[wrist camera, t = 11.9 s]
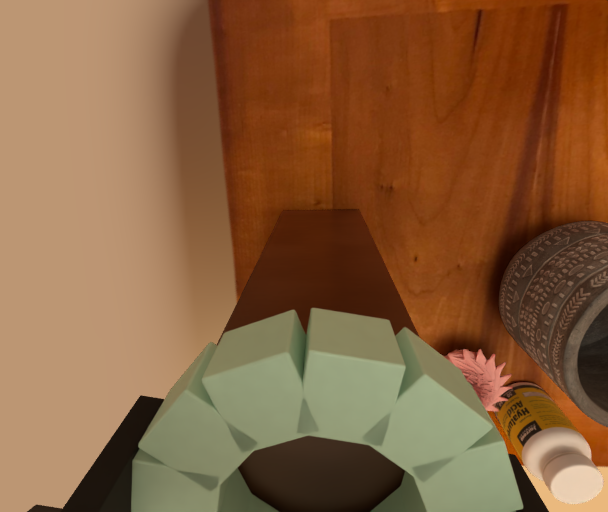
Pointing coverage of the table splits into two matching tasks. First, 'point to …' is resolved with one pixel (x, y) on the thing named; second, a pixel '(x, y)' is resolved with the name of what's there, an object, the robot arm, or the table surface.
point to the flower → (481, 375)
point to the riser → (302, 297)
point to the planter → (563, 310)
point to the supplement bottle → (549, 443)
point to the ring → (323, 417)
